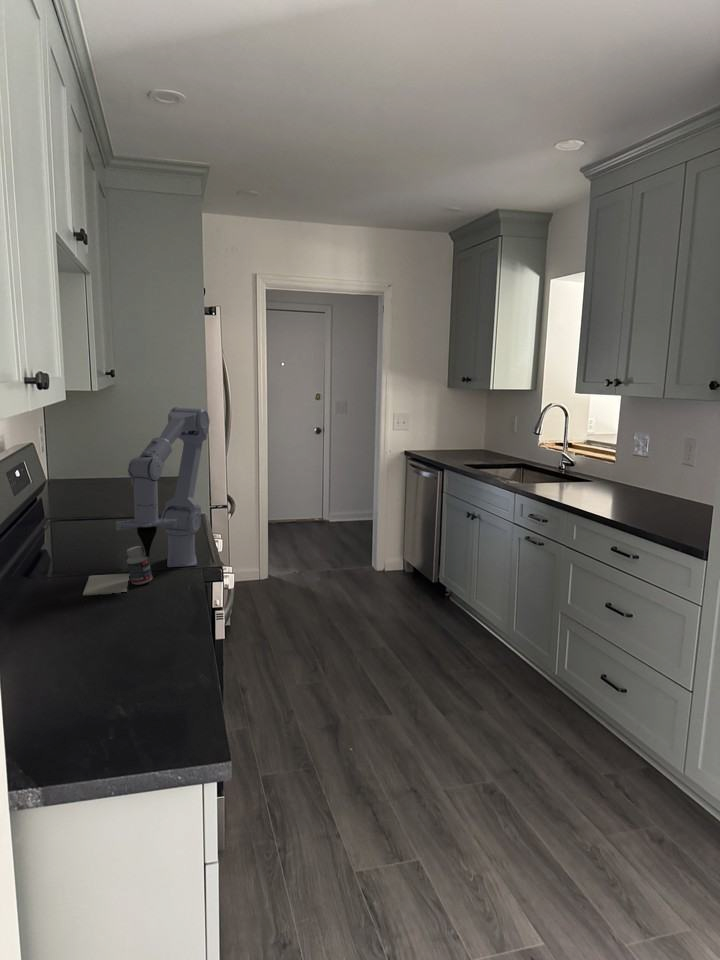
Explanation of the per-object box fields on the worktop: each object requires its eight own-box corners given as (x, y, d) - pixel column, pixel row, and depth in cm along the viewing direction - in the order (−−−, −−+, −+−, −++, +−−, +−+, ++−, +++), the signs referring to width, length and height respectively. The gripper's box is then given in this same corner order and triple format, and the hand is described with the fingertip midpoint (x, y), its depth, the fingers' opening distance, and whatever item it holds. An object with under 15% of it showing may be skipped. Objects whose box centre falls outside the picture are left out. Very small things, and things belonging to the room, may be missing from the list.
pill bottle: (148, 583, 165) (140, 551, 163) (128, 586, 165) (120, 553, 163) (155, 575, 170) (148, 543, 168) (136, 578, 170) (128, 546, 168)
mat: (89, 577, 170) (89, 575, 170) (130, 574, 173) (129, 573, 173) (82, 595, 157) (82, 594, 157) (126, 592, 160) (126, 591, 160)
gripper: (114, 508, 158) (116, 561, 161) (176, 506, 162) (177, 558, 165) (116, 502, 165) (118, 554, 167) (175, 500, 169) (176, 551, 171)
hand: (147, 555), depth 166 cm, fingers closed, pressing on pill bottle
